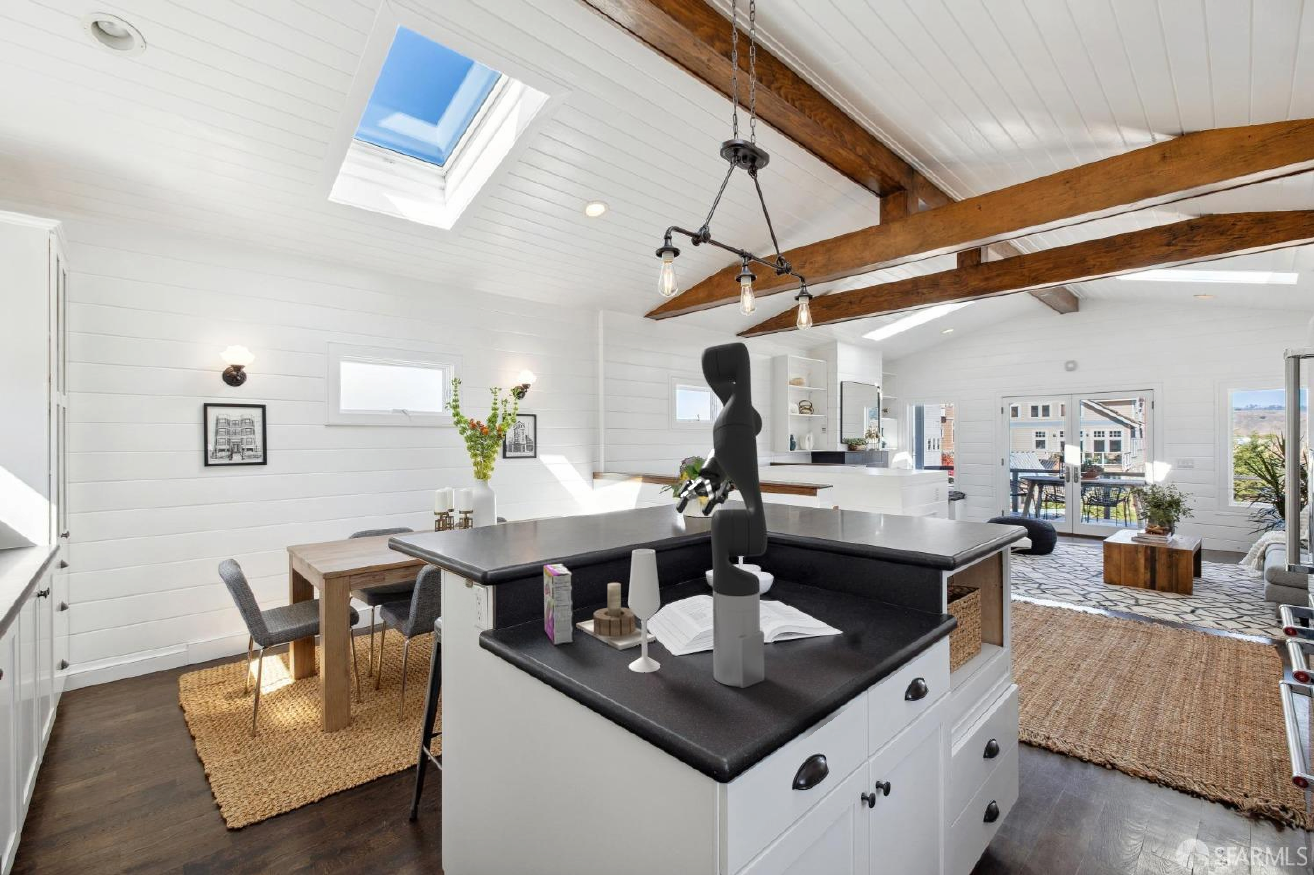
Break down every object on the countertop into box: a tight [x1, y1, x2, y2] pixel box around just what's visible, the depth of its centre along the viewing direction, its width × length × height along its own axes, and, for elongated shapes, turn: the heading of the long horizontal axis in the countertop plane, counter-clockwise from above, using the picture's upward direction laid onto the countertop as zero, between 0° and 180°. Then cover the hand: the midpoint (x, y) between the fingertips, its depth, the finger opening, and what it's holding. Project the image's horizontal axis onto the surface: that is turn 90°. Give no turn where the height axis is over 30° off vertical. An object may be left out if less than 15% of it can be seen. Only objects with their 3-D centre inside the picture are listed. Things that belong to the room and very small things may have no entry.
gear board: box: [575, 606, 656, 651], centre depth 142 cm, size 20×10×5 cm, turn 37°
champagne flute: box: [627, 548, 661, 673], centre depth 122 cm, size 7×7×24 cm
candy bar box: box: [543, 563, 574, 645], centre depth 140 cm, size 11×5×16 cm, turn 22°
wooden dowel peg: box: [607, 582, 622, 616], centre depth 142 cm, size 3×3×11 cm
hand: (691, 512), depth 148 cm, fingers open, 8 cm apart
